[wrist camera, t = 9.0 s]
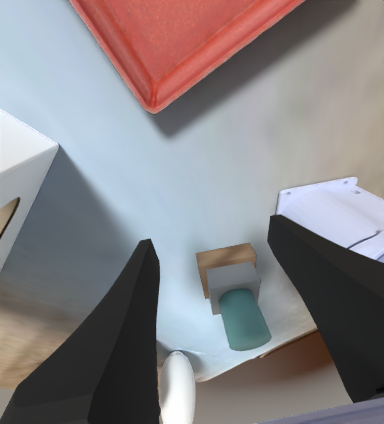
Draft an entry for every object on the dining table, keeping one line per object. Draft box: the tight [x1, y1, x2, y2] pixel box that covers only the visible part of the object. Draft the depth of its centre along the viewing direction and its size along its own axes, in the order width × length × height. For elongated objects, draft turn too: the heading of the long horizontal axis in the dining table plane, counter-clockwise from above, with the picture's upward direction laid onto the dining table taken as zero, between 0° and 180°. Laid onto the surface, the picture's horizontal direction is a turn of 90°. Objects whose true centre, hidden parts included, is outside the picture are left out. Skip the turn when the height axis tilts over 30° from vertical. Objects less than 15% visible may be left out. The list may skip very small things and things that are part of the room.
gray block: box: [205, 261, 261, 315], centre depth 26 cm, size 6×6×3 cm
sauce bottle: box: [159, 351, 195, 424], centre depth 38 cm, size 8×8×18 cm
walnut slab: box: [196, 243, 256, 299], centre depth 28 cm, size 8×8×3 cm
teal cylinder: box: [219, 289, 271, 351], centre depth 22 cm, size 5×5×5 cm
